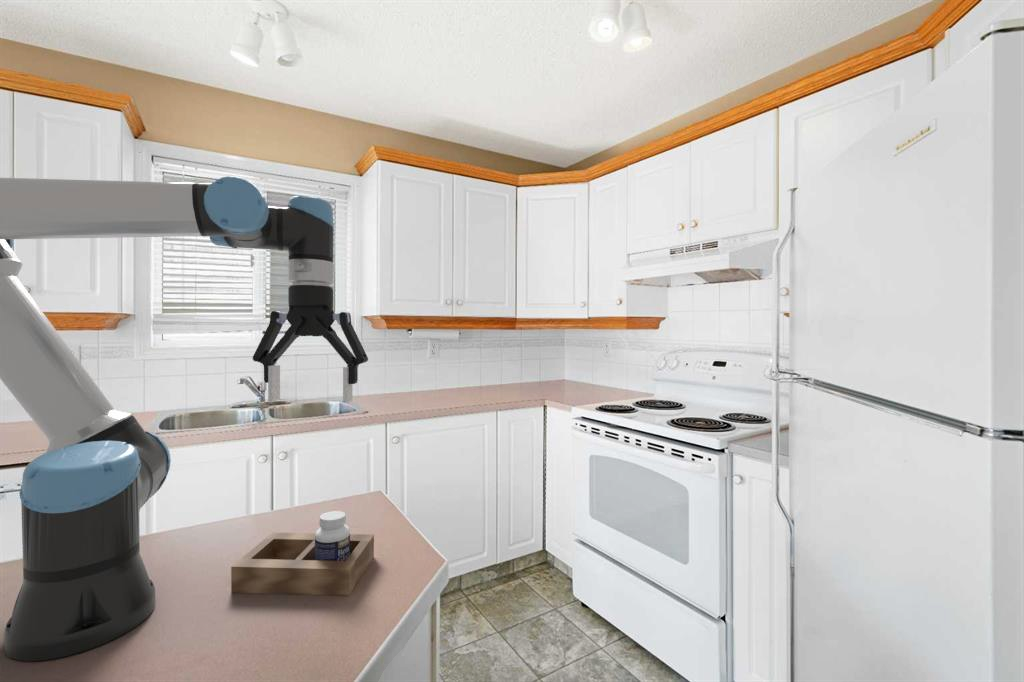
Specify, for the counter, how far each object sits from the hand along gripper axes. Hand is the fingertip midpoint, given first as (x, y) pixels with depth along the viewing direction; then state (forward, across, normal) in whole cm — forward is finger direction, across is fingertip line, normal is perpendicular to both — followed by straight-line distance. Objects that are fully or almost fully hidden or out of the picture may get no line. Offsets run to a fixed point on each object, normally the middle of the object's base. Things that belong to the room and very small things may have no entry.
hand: (310, 401), depth 87 cm
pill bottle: (+27, +8, -10) cm, 30 cm away
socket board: (+27, +4, -10) cm, 29 cm away
